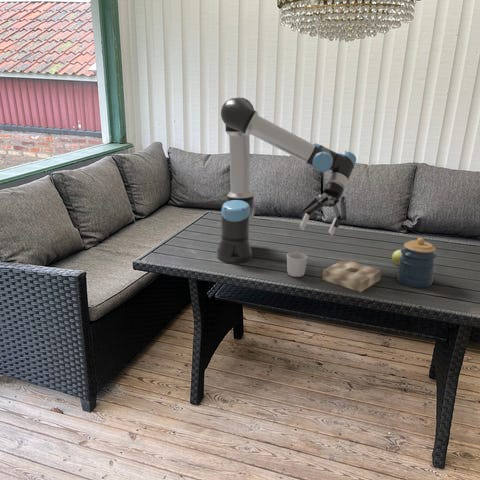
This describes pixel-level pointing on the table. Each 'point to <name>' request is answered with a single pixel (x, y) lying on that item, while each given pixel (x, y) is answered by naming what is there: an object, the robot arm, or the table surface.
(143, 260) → the table surface
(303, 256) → the cup
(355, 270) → the opening block
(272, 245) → the table surface
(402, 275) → the canister
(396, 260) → the tennis ball
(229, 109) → the robot arm
